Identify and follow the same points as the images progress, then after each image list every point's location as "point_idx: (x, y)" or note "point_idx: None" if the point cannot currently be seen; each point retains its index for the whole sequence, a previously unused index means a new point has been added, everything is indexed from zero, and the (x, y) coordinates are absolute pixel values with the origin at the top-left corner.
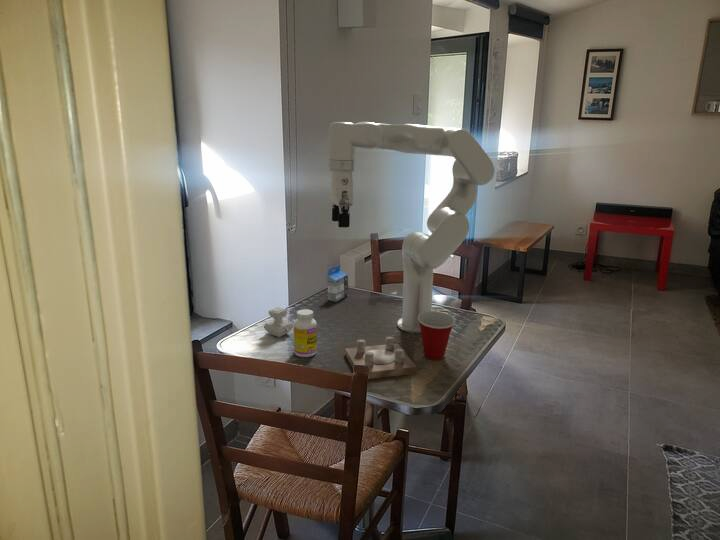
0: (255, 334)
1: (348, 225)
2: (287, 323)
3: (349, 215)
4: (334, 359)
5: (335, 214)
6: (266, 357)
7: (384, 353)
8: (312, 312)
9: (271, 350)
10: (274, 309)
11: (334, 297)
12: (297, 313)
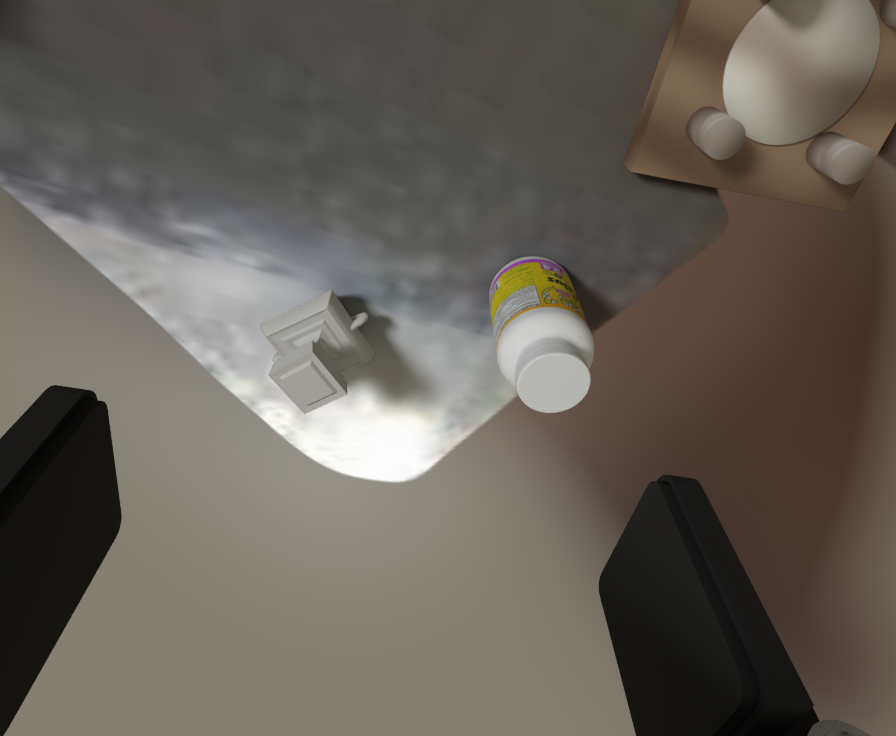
0: None
1: (698, 504)
2: (329, 320)
3: (788, 664)
4: (633, 217)
5: (55, 593)
6: (498, 401)
7: (793, 29)
8: (576, 359)
9: (454, 377)
10: (299, 394)
11: None
12: (552, 412)
